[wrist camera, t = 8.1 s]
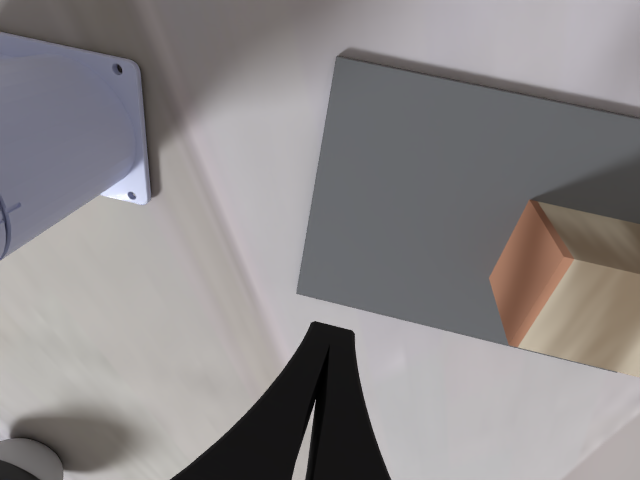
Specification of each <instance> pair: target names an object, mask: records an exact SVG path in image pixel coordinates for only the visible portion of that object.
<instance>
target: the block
mask: <svg viewBox="0 0 640 480" xmlns="http://www.w3.org/2000/svg"><path fill="white" fill-rule="evenodd" d="M489 280H490V284H491V287H492V291H493V294H494V297H495V301H496V304H497V307H498V311H499V314H500V317H501V321H502V324H503V328H504V331H505V334H506V338H507V341H508V344H509V345H510V346H514V347H518V348H522V349H526V350H530V351H534V352H539V353H543V354H547V355H551V356H555V357H559V358H563V359H567V360H571V361H575V362H579V363H583V364H587V365H591V366H595V367H599V368H604V369H608V370H612V371H616V372H620V373H624V374H628V375H632V376H636V377H640V224H637V223H633V222H628V221H624V220H619V219H615V218H610V217H606V216H601V215H597V214H592V213H588V212H583V211H579V210H574V209H570V208H565V207H561V206H556V205H552V204H547V203H543V202H538V201H534V200H529V201H528V203H527V205H526V207H525V209H524V211H523V213H522V215H521V217H520V219H519V220H518V222H517V224H516V226H515V228H514V230H513V232H512V234H511V236H510V238H509V240H508V242H507V244H506V246H505V248H504V250H503V252H502V254H501V256H500V258H499V260H498V261H497V263H496V265H495V267H494V269H493V271H492V273H491V275H490V277H489Z"/></svg>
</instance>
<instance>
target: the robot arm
mask: <svg viewBox="0 0 640 480" xmlns="http://www.w3.org/2000/svg"><path fill="white" fill-rule="evenodd" d="M117 64H119V65H120V66H121V68H122V73H120V72H119V71H118V68H117ZM132 192H133V193H134V194H135V195H136V197H135V196H134V195H133V194H132ZM98 195H102V196H107V197H111V198H115V199H119V200H123V201H128V202H132V203H136V204H140V205H145V204H147V203H148V202H149V201H150V200H151V189H150V177H149V166H148V154H147V142H146V131H145V119H144V107H143V95H142V84H141V72H140V68H139V66H138V65H137V64H136V63H135V62H134V61H132V60H130V59H126V58H121V57H116V56H112V55H107V54H102V53H98V52H93V51H88V50H84V49H79V48H74V47H69V46H65V45H60V44H55V43H51V42H46V41H41V40H37V39H32V38H27V37H23V36H18V35H13V34H9V33H4V32H0V260H2V259H3V258H5V257H6V256H8V255H9V254H11V253H12V252H14V251H15V250H17V249H18V248H20V247H21V246H23V245H24V244H26V243H27V242H29V241H30V240H32V239H33V238H35V237H36V236H38V235H39V234H41V233H42V232H44V231H45V230H47V229H48V228H50V227H51V226H53V225H54V224H56V223H57V222H59V221H60V220H62V219H63V218H65V217H66V216H68V215H70V214H71V213H73V212H74V211H76V210H77V209H79V208H80V207H82V206H83V205H85V204H86V203H88V202H89V201H91V200H92V199H94V198H95V197H97V196H98ZM315 400H316V403H315ZM314 403H315V410H314V418H313V426H312V434H311V442H310V450H309V458H308V466H307V472H306V479H305V480H391V478H390V476H389V473H388V471H387V468H386V466H385V463H384V460H383V458H382V455H381V452H380V450H379V447H378V444H377V441H376V438H375V435H374V432H373V429H372V426H371V422H370V419H369V415H368V412H367V408H366V404H365V400H364V396H363V392H362V387H361V383H360V378H359V373H358V367H357V360H356V352H355V334H354V332H353V331H352V330H348V329H344V328H340V327H336V326H332V325H328V324H324V323H320V322H316V321H314V322H312V323H311V324H310V327H309V329H308V331H307V333H306V335H305V337H304V339H303V341H302V342H301V344H300V346H299V347H298V349H297V350H296V352H295V354H294V355H293V356H292V358H291V359H290V361H289V362H288V364H287V365H286V366H285V368H284V369H283V371H282V372H281V373H280V375H279V376H278V377H277V378H276V379H275V381H274V382H273V383H272V384H271V386H270V387H269V388H268V389H267V391H266V392H265V393H264V394H263V395H262V396H261V398H260V399H259V400H258V401H257V402H256V403H255V404H254V405H253V406H252V408H251V409H250V410H249V411H248V412H247V413H246V414H245V415H244V416H243V417H242V418H241V419H240V420H239V421H238V422H237V423H236V424H235V425H234V426H233V427H232V428H231V429H230V430H229V431H228V432H227V433H226V434H224V435H223V436H222V437H221V438H220V439H219V440H218V441H217V442H216V443H215V444H213V445H212V446H211V447H210V448H209V449H207V450H206V451H205V452H204V453H203V454H202V455H200V456H199V457H198V458H197V459H196V460H195V461H193V462H192V463H191V464H190V465H189V466H187V467H186V468H185V469H184V470H182V471H181V472H180V473H178V474H177V475H176V476H174V477H173V478H172V479H170V480H292V475H293V471H294V466H295V462H296V459H297V456H298V453H299V450H300V447H301V444H302V440H303V437H304V434H305V431H306V428H307V425H308V422H309V419H310V415H311V412H312V409H313V406H314Z"/></svg>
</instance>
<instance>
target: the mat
mask: <svg viewBox="0 0 640 480" xmlns="http://www.w3.org/2000/svg"><path fill="white" fill-rule="evenodd" d="M529 200H534V201H538V202H543V203H547V204H552V205H556V206H561V207H565V208H570V209H574V210H579V211H583V212H588V213H592V214H597V215H601V216H606V217H610V218H615V219H619V220H624V221H628V222H633V223H637V224H640V118H637V117H632V116H627V115H622V114H617V113H613V112H608V111H603V110H598V109H593V108H588V107H584V106H579V105H574V104H569V103H564V102H559V101H554V100H550V99H545V98H540V97H535V96H530V95H525V94H521V93H516V92H511V91H506V90H501V89H496V88H491V87H487V86H482V85H477V84H472V83H467V82H462V81H457V80H453V79H448V78H443V77H438V76H433V75H428V74H424V73H419V72H414V71H409V70H404V69H399V68H394V67H390V66H385V65H380V64H375V63H370V62H365V61H360V60H356V59H351V58H346V57H341V56H337V57H336V62H335V68H334V74H333V80H332V86H331V91H330V97H329V103H328V109H327V115H326V121H325V127H324V133H323V139H322V145H321V151H320V157H319V162H318V168H317V174H316V180H315V186H314V192H313V198H312V204H311V210H310V216H309V222H308V228H307V233H306V239H305V245H304V251H303V257H302V263H301V269H300V275H299V281H298V287H297V293H296V294H300V295H304V296H308V297H312V298H316V299H320V300H324V301H328V302H332V303H336V304H340V305H344V306H348V307H352V308H357V309H361V310H365V311H369V312H373V313H377V314H381V315H385V316H389V317H393V318H397V319H401V320H405V321H409V322H413V323H417V324H421V325H425V326H430V327H434V328H438V329H442V330H446V331H450V332H454V333H458V334H462V335H466V336H470V337H474V338H478V339H482V340H486V341H490V342H494V343H498V344H502V345H507V346H510V345H509V344H508V341H507V338H506V334H505V331H504V328H503V324H502V321H501V317H500V314H499V311H498V307H497V304H496V301H495V297H494V294H493V291H492V287H491V284H490V280H489V277H490V275H491V273H492V271H493V269H494V267H495V265H496V263H497V261H498V260H499V258H500V256H501V254H502V252H503V250H504V248H505V246H506V244H507V242H508V240H509V238H510V236H511V234H512V232H513V230H514V228H515V226H516V224H517V222H518V220H519V219H520V217H521V215H522V213H523V211H524V209H525V207H526V205H527V203H528V201H529ZM511 347H514V346H511ZM515 348H518V347H515ZM519 349H522V348H519ZM523 350H526V349H523ZM527 351H530V350H527ZM531 352H534V351H531ZM535 353H539V352H535ZM539 354H543V353H539ZM543 355H547V354H543ZM547 356H551V355H547ZM551 357H555V356H551ZM555 358H559V357H555ZM559 359H563V358H559ZM563 360H567V359H563ZM567 361H571V360H567ZM571 362H575V361H571ZM575 363H579V362H575ZM580 364H583V363H580ZM584 365H587V364H584ZM588 366H591V365H588ZM592 367H595V366H592ZM596 368H599V367H596ZM600 369H604V368H600ZM604 370H608V369H604ZM608 371H612V370H608ZM612 372H616V371H612ZM616 373H617V372H616Z"/></svg>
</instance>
